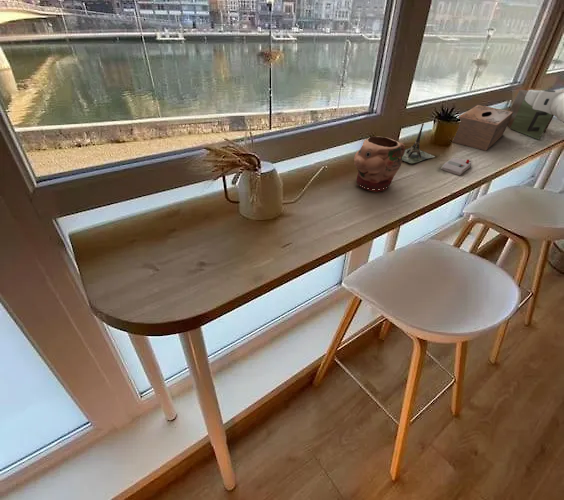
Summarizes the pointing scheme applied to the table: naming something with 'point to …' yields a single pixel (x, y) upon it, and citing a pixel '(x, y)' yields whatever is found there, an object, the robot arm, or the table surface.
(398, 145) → the decorative planter
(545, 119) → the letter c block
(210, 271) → the table surface
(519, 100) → the green door cabinet
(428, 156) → the eiffel tower figurine
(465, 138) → the tissue box cover
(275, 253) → the table surface
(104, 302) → the table surface
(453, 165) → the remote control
